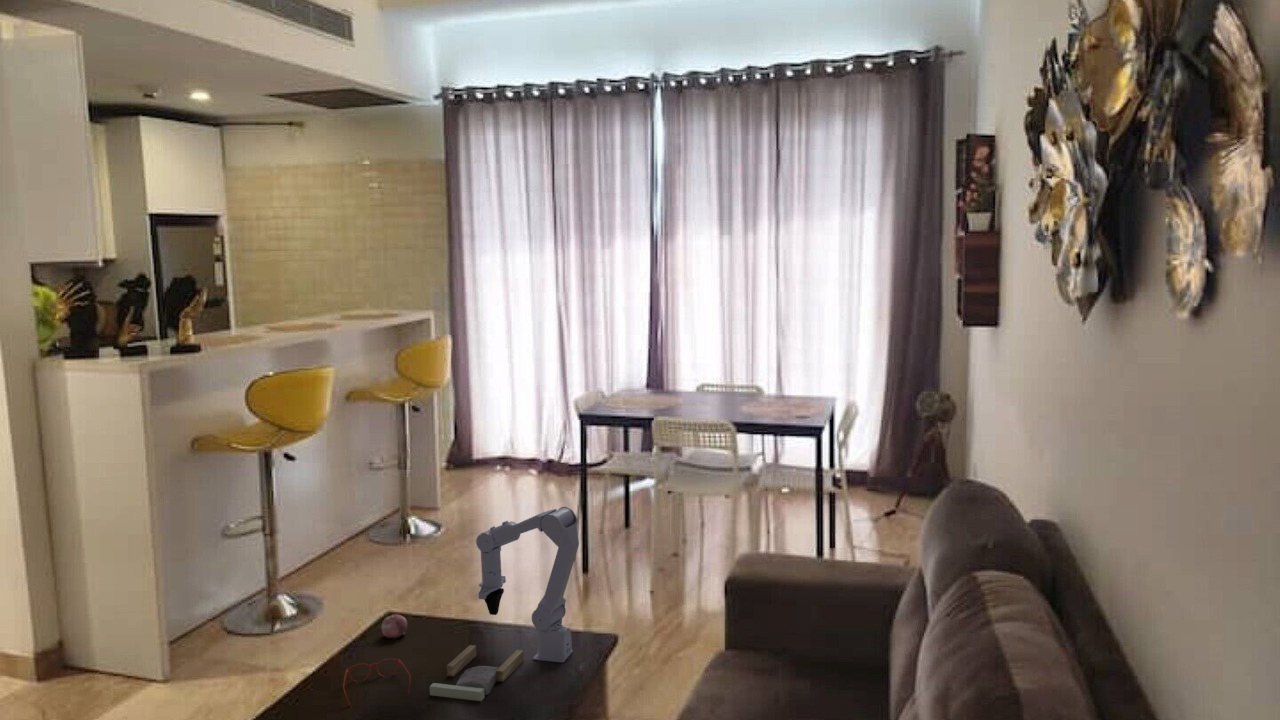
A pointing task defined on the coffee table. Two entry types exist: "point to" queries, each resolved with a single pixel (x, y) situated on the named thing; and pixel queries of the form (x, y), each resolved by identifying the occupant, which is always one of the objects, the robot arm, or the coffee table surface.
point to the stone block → (479, 678)
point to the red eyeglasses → (377, 671)
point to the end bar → (457, 692)
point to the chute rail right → (509, 665)
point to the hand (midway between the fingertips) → (493, 613)
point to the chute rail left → (461, 660)
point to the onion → (394, 626)
